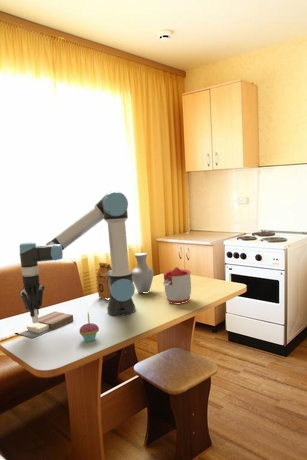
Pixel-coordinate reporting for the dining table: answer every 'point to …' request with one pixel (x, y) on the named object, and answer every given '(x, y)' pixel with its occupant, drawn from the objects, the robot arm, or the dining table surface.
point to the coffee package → (103, 280)
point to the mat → (33, 333)
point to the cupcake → (89, 331)
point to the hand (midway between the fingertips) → (35, 322)
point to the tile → (38, 327)
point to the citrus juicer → (177, 285)
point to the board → (55, 319)
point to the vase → (142, 273)
